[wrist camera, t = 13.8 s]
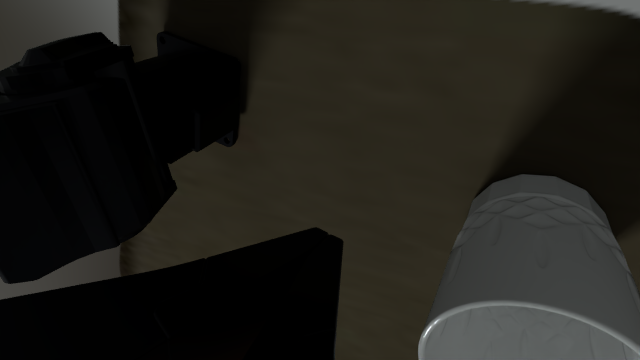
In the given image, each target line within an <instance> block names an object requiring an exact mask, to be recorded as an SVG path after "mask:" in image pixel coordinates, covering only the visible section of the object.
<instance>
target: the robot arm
mask: <svg viewBox="0 0 640 360" xmlns="http://www.w3.org/2000/svg"><path fill="white" fill-rule="evenodd" d="M164 38H165V40H164ZM165 41H166V42H165ZM157 49H158V56H157V57H153V58H150V59H146V60H143V61H140V62H136V63H134V60H133V56H134V54H133V51H132V48H131V45H126V46H117V44H113V42H111V41H110V40H108V38H107V37H106V36H105V35H104V34H103V33H101V32H94V33H89V34H84V35H78V36H74V37H69V38H64V39H60V40H56V41H53V42H50V43H47V44H44V45H41V46H38V47H35V48H32V49H28V50H27V51H26V53H25V55H24V56H23V58H22V60H21V61H20V62H17V63H15V64H13V65H11V66H10V67H8V68H5V69H4V70H1V71H0V277H1V279H2V280H3V282H5V283H8V284H13V283H20V282H28V281H34V280H37V279H40V278H42V277H43V276H45V275H47V274H49V273H51V272H53V271H55V270H57V269H59V268H61V267H62V266H64V265H66V264H68V263H71V262H73V261H75V260H77V259H79V258H82V257H85V256H87V255H89V254H93V253H95V252H99V251H103V250H106V249H111V248H115V247H117V246H119V245H120V243H122V242H124V241H126V240H128V239H130V238H132V237H134V236H135V235H137V234H138V233H139V232H141V231H142V230H143V229H144V228H145V227H146V226H147V225H148V224H149V223H150V222H151V221H152V219H153V217H154V216H155V215H156V214H157V213H158V211H159V210H160V209H161V208H162V207H163V205H164V204H165V203H166V202H167V201H168V199H169V198H170V197H171V196H172V195H173V193H174V192H175V191H176V190H177V186H176V183H175V180H173V179H172V176H171V173H170V170H169V167H168V163H169V164H171V163H173V162H175V161H177V160H178V159H180V158H182V157H183V156H185V155H187V154H188V153H190V152H192V151H195V152H198V151H200V150H202V149H203V148H205V147H207V146H208V145H210V144H212V143H213V142H218V143H220V144H222V145H224V146H226V147H231V146H232V145H234V144H235V142H236V132H237V127H238V114H239V99H240V96H239V85H240V70H241V66H240V62H239V61H238V60H237V59H236V58H235V57H232V56H229V55H227V54H224V53H222V52H219V51H216V50H214V49H211V48H208V47H206V46H203V45H200V44H198V43H195V42H193V41H190V40H187V39H185V38H182V37H179V36H177V35H174V34H171V33H169V32H165V31H164V32H160V33H158V34H157ZM231 63H232V64H233V67H234V69H233V68H232V66H231ZM227 138H228V139H229V140H228V139H227ZM342 253H343V240H342V239H340V238H338V237H336V236H334V235H329V234H328V233H327V232H325V231H323V230H321V229H319V228H317V227H315V228H311V229H307V230H303V231H300V232H296V233H293V234H289V235H286V236H282V237H279V238H275V239H271V240H268V241H264V242H261V243H257V244H254V245H250V246H247V247H243V248H239V249H236V250H232V251H229V252H225V253H222V254H218V255H215V256H211V257H208V258H207V259H205V258H202V259H199V260H195V261H192V262H188V263H184V264H180V265H176V266H172V267H168V268H163V269H158V270H154V271H149V272H144V273H139V274H134V275H128V276H123V277H118V278H112V279H108V280H102V281H97V282H91V283H86V284H81V285H76V286H70V287H65V288H60V289H55V290H49V291H44V292H39V293H34V294H28V295H23V296H18V297H12V298H8V299H2V300H0V360H335V343H336V327H337V315H338V302H339V290H340V278H341V266H342Z"/></svg>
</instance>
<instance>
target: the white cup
mask: <svg viewBox="0 0 640 360" xmlns="http://www.w3.org/2000/svg"><path fill="white" fill-rule="evenodd" d="M418 357H419V360H640V293H639V290H638V288H637V285H636V283H635V280H634V278H633V276H632V274H631V272H630V270H629V268H628V265H627V262H626V260H625V257H624V254H623V252H622V250H621V248H620V246H619V244H618V242H617V241H616V239H615V237H614V236H613V233H612V230H611V228H610V225H609V222H608V219H607V216H606V214H605V212H604V211H603V210H602V209H601V207H600V206H599V205H598V204H597V203H596V202H595V200H594V199H593V198H592V197H591V196H590V194H589V193H588V192H587V191H586V190H584V189H582V188H580V187H578V186H576V185H573V184H571V183H569V182H567V181H565V180H562V179H560V178H558V177H556V176H543V175H528V174H521V175H517V176H514V177H511V178H507V179H504V180H501V181H497V182H494V183H492V184H491V185H490V186H489V187H487V188H486V189H485V190H484V191H483V192H482V193H480V194H479V195H478V196H477V197H476V198H475V199H474V200H473V201H472V204H471V207H470V210H469V213H468V216H467V219H466V222H465V224H464V226H463V228H462V230H461V231H460V232H459V234H458V236H457V239H456V242H455V244H454V246H453V248H452V251H451V253H450V256H449V259H448V262H447V265H446V268H445V271H444V273H443V276H442V279H441V282H440V284H439V287H438V290H437V293H436V296H435V299H434V301H433V304H432V307H431V310H430V313H429V315H428V318H427V321H426V324H425V327H424V329H423V332H422V335H421V338H420V341H419V346H418Z"/></svg>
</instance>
